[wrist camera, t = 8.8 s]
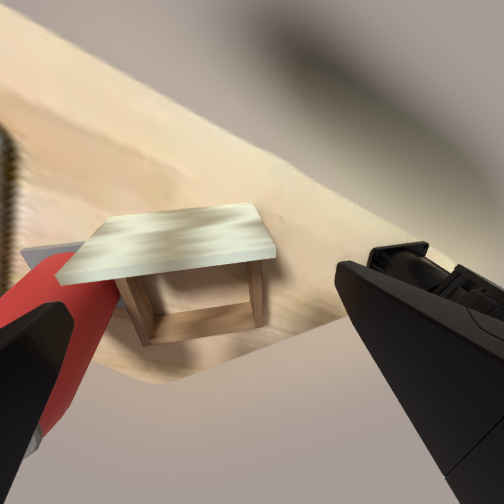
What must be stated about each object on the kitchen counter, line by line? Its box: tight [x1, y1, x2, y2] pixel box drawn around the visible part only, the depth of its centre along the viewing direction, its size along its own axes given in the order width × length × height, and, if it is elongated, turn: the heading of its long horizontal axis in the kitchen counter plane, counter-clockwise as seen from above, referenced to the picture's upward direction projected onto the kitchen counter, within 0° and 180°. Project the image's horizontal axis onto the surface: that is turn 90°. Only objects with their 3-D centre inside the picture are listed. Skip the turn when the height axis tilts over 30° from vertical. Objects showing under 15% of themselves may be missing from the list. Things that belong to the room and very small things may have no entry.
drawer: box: [55, 202, 276, 347], centre depth 19 cm, size 12×12×8 cm
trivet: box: [20, 242, 125, 308], centre depth 21 cm, size 6×7×1 cm
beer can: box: [0, 252, 121, 459], centre depth 16 cm, size 7×7×12 cm
